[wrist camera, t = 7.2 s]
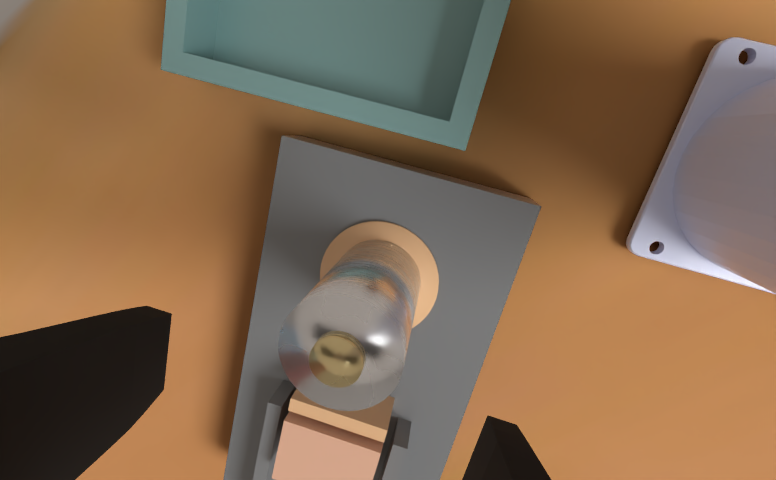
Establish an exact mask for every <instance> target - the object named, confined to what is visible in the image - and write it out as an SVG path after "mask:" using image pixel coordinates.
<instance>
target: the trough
mask: <svg viewBox="0 0 776 480" xmlns="http://www.w3.org/2000/svg"><path fill="white" fill-rule="evenodd" d="M510 2H511V0H166V11H165V23H164V36H163V49H162V61H161V70H164V71H167V72H171V73H175V74H179V75H182V76H186V77H190V78H194V79H197V80H201V81H205V82H209V83H212V84H216V85H220V86H224V87H227V88H231V89H235V90H239V91H242V92H246V93H250V94H254V95H257V96H261V97H265V98H269V99H272V100H276V101H280V102H284V103H287V104H291V105H295V106H299V107H302V108H306V109H310V110H314V111H317V112H321V113H325V114H329V115H332V116H336V117H340V118H344V119H347V120H351V121H355V122H359V123H362V124H366V125H370V126H374V127H377V128H381V129H385V130H389V131H392V132H396V133H400V134H404V135H407V136H411V137H415V138H419V139H422V140H426V141H430V142H434V143H437V144H441V145H445V146H449V147H452V148H456V149H460V150H464V151H465V150H466V147H467V144H468V140H469V137H470V134H471V130H472V127H473V124H474V120H475V117H476V114H477V111H478V107H479V104H480V101H481V97H482V94H483V91H484V87H485V84H486V81H487V78H488V74H489V71H490V68H491V64H492V61H493V58H494V54H495V51H496V48H497V45H498V41H499V38H500V35H501V31H502V28H503V25H504V21H505V18H506V15H507V12H508V8H509V5H510Z"/></svg>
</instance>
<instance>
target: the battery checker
mask: <svg viewBox="0 0 776 480" xmlns="http://www.w3.org/2000/svg"><path fill="white" fill-rule="evenodd" d="M540 209H541V206H540V205H539V204H537V203H536V202H535V201H534V200H532V199H531V198H528V197H524V196H520V195H517V194H513V193H509V192H506V191H502V190H498V189H495V188H491V187H487V186H484V185H480V184H477V183H473V182H469V181H466V180H462V179H458V178H455V177H451V176H447V175H444V174H440V173H436V172H433V171H429V170H425V169H422V168H418V167H414V166H411V165H407V164H403V163H400V162H396V161H392V160H389V159H385V158H381V157H378V156H374V155H370V154H367V153H363V152H359V151H356V150H352V149H348V148H345V147H341V146H337V145H334V144H330V143H326V142H323V141H319V140H315V139H312V138H308V137H304V136H292V135H282V137H281V143H280V149H279V155H278V161H277V167H276V173H275V179H274V185H273V191H272V196H271V202H270V208H269V214H268V220H267V226H266V232H265V238H264V244H263V250H262V256H261V261H260V267H259V273H258V279H257V285H256V291H255V297H254V303H253V309H252V315H251V320H250V326H249V332H248V338H247V344H246V350H245V356H244V362H243V368H242V374H241V380H240V385H239V391H238V397H237V403H236V409H235V415H234V421H233V427H232V433H231V439H230V444H229V450H228V456H227V462H226V468H225V474H224V480H275V479H272V474H273V469H274V465H275V460H276V455H277V451H278V446H279V441H280V437H281V432H282V427H283V423H284V420H285V418H286V416H287V415H288V413H289V411H291V412H294V413H297V414H300V415H303V416H306V417H309V418H312V419H315V420H318V421H321V422H324V423H327V424H330V425H333V426H336V427H339V428H341V429H344V430H347V431H350V432H353V433H356V434H359V435H362V436H365V437H368V438H371V439H374V440H377V441H380V442H383V447H382V451H381V455H380V458H379V462H378V465H377V468H376V471H375V474H374V478H373V480H440V477H441V475H442V472H443V469H444V467H445V464H446V461H447V458H448V456H449V453H450V450H451V448H452V445H453V442H454V440H455V437H456V434H457V432H458V429H459V426H460V424H461V421H462V418H463V416H464V413H465V410H466V407H467V405H468V402H469V399H470V397H471V394H472V391H473V389H474V386H475V383H476V381H477V378H478V375H479V373H480V370H481V367H482V364H483V362H484V359H485V356H486V354H487V351H488V348H489V346H490V343H491V340H492V338H493V335H494V332H495V330H496V327H497V324H498V322H499V319H500V316H501V313H502V311H503V308H504V305H505V303H506V300H507V297H508V295H509V292H510V289H511V287H512V284H513V281H514V279H515V276H516V273H517V270H518V268H519V265H520V262H521V260H522V257H523V254H524V252H525V249H526V246H527V244H528V241H529V238H530V236H531V233H532V230H533V228H534V225H535V222H536V219H537V217H538V214H539V211H540ZM367 240H385V241H389V242H392V243H394V244H396V245H398V246H400V247H401V248H403V249H404V250H405V251H407V252H408V253H409V254H410V256H411V257H412V258H413V260H414V261H415V263H416V265H417V267H418V270H419V273H420V279H421V286H420V292H419V297H418V301H417V306H416V311H415V315H414V320H413V325H412V330H411V334H410V339H409V344H408V348H407V353H406V358H405V362H404V367H403V372H402V376H401V378H400V381H399V383H398V384H397V386H396V388H395V389H394V391H393V392H392V393H391V394H390V395H389V396H388V397H387V398H386V399H385V400H383V401H382V402H380V403H378V404H376V405H374V406H372V407H370V408H367V409H363V410H357V411H341V410H334V409H331V408H327V407H324V406H322V405H319V404H317V403H315V402H313V401H312V400H310V399H309V398H307V397H306V396H304V395H303V394H302V393H301V392H300V391H299V390H298V389H297V388H296V387H295V386H294V385H293V384H292V383H291V381H290V380H289V378H288V377H287V375H286V373H285V371H284V369H283V367H282V364H281V361H280V357H279V351H278V341H279V334H280V331H281V328H282V325H283V323H284V321H285V320H286V318H287V316H288V315H289V314H290V313H291V312H292V311H293V309H294V308H295V307H296V306H297V305H298V304H299V303H300V302H301V301H302V300H303V299H304V298H305V296H306V295H307V294H308V293H309V292H310V291H311V290H312V289H313V288H314V287H315V286H316V285H317V283H318V282H319V281H320V280H321V279H322V278H323V277H324V276H325V275H326V274H327V273H328V272H329V270H330V269H331V268H332V267H333V266H334V265H335V264H336V263H337V262H338V261H339V260H340V259H341V257H342V256H343V255H344V254H345V253H346V252H347V251H348V250H349V249H350V248H351V247H353V246H355V245H356V244H358V243H360V242H363V241H367Z"/></svg>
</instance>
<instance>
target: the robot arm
mask: <svg viewBox="0 0 776 480" xmlns="http://www.w3.org/2000/svg"><path fill="white" fill-rule="evenodd" d="M742 50H743V51H745V52H747V55H748V59H747V61H746V63H745V64H744V65H743V64H741V63H740V62H739V59H738V58H739V54H740V53H741V51H742ZM655 241H658V242H659V247H658V248H657V250H655V251H650V250H649V247H650V245H651V244H652V243H653V242H655ZM626 246H627V248H628V250H629V251H630V252H632V253H633V254H635V255H637V256H641V257H644V258H648V259H652V260H655V261H659V262H662V263H666V264H669V265H673V266H677V267H680V268H684V269H687V270H691V271H695V272H698V273H702V274H705V275H709V276H712V277H716V278H720V279H723V280H727V281H730V282H734V283H738V284H741V285H745V286H748V287H752V288H755V289H759V290H763V291H766V292H770V293H773V294H776V46H774V45H770V44H765V43H761V42H757V41H752V40H748V39H744V38H739V37H731V38H728V39H726V40H723V41H720V42H719V43H717V44H716V45H715V46H714V47H713V48H712V50H711V52H710V54H709V56H708V58H707V60H706V63H705V65H704V67H703V69H702V72H701V74H700V76H699V78H698V81H697V83H696V85H695V87H694V90H693V92H692V94H691V96H690V98H689V101H688V103H687V105H686V107H685V110H684V112H683V114H682V116H681V119H680V121H679V123H678V125H677V128H676V130H675V132H674V134H673V137H672V139H671V141H670V143H669V145H668V148H667V150H666V152H665V154H664V157H663V159H662V161H661V163H660V166H659V168H658V170H657V172H656V175H655V177H654V179H653V181H652V183H651V186H650V188H649V190H648V192H647V195H646V197H645V199H644V201H643V204H642V206H641V208H640V210H639V213H638V215H637V217H636V219H635V222H634V224H633V226H632V228H631V230H630V233H629V235H628V237H627V240H626ZM171 315H172V314H171V313H168V312H165V311H161V310H158V309H155V308H152V307H149V306H143V307H136V308H130V309H125V310H120V311H115V312H111V313H106V314H102V315H97V316H93V317H89V318H84V319H80V320H76V321H71V322H67V323H63V324H58V325H54V326H49V327H45V328H41V329H36V330H32V331H28V332H23V333H19V334H14V335H9V336H4V337H0V480H75V479H76V478H77V477H79V476H80V475H81V474H82V473H83V472H84V471H85V470H86V469H87V468H88V467H90V466H91V465H92V464H93V463H94V462H95V461H96V460H97V459H98V458H99V457H100V456H101V455H103V454H104V453H105V452H106V451H107V450H108V449H109V448H110V447H111V446H112V445H113V444H114V443H116V442H117V441H118V440H119V439H120V438H121V437H122V436H123V435H124V434H125V433H126V432H127V431H128V430H129V429H130V428H131V427H132V426H133V425H134V424H135V423H136V421H137V420H138V419H139V418H140V417H141V416H142V415H143V414H144V412H145V411H146V410H147V409H148V408H149V407H150V405H151V404H152V403H153V402H154V401H155V399H156V398H157V397H158V396H159V395H160V393H161V392H162V391H163V390H164V382H165V373H166V363H167V354H168V344H169V334H170V325H171ZM462 480H551V479H550V477H549V475H548V474H547V472H546V471H545V469H544V467H543V466H542V464H541V463H540V461H539V459H538V458H537V456H536V455H535V453H534V451H533V450H532V448H531V446H530V445H529V443H528V442H527V440H526V438H525V437H524V435H523V434H522V432H521V431H520V429H519V428H518V426H517V425H516V424H512V423H509V422H506V421H503V420H500V419H497V418H494V417H491V416H487V418H486V421H485V423H484V426H483V428H482V431H481V434H480V436H479V439H478V441H477V444H476V446H475V449H474V451H473V454H472V456H471V459H470V462H469V464H468V467H467V469H466V472H465V474H464V477H463V479H462Z"/></svg>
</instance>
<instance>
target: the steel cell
mask: <svg viewBox="0 0 776 480" xmlns="http://www.w3.org/2000/svg"><path fill="white" fill-rule="evenodd" d="M420 286H421V279H420V273H419V270H418V267H417V265H416V263H415V261H414V260H413V258H412V257H411V256H410V254H409V253H408V252H407V251H405V250H404V249H403V248H401V247H400V246H398V245H396V244H394V243H392V242H389V241H385V240H367V241H363V242H360V243H358V244H356V245H355V246H353V247H351V248H350V249H349V250H348V251H347V252H346V253H345V254H344V255H343V256H342V257H341V259H340V260H339V261H338V262H337V263H336V264H335V265H334V266H333V267H332V268H331V269H330V270H329V272H328V273H327V274H326V275H325V276H324V277H323V278H322V279H321V280H320V281H319V282H318V283H317V285H316V286H315V287H314V288H313V289H312V290H311V291H310V292H309V293H308V294H307V295H306V296H305V298H304V299H303V300H302V301H301V302H300V303H299V304H298V305H297V306H296V307H295V308H294V309H293V311H292V312H291V313H290V314H289V315H288V316H287V318H286V320H285V321H284V323H283V325H282V328H281V331H280V334H279V341H278V351H279V357H280V361H281V364H282V367H283V369H284V371H285V373H286V375H287V377H288V378H289V380H290V381H291V383H292V384H293V385H294V386H295V387H296V388H297V389H298V390H299V391H300V392H301V393H302V394H303V395H304V396H306V397H307V398H309V399H310V400H312V401H313V402H315V403H317V404H319V405H322V406H324V407H327V408H331V409H334V410H341V411H357V410H363V409H367V408H370V407H372V406H374V405H376V404H378V403H380V402H382V401H383V400H385V399H386V398H387V397H388V396H389V395H390V394H391V393H392V392H393V391H394V389H395V388H396V386H397V384H398V383H399V381H400V378H401V376H402V372H403V367H404V362H405V358H406V353H407V348H408V344H409V339H410V334H411V330H412V325H413V320H414V315H415V311H416V306H417V301H418V297H419V292H420Z"/></svg>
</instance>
